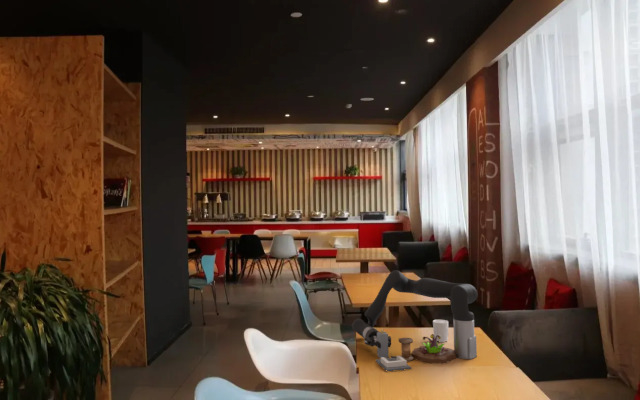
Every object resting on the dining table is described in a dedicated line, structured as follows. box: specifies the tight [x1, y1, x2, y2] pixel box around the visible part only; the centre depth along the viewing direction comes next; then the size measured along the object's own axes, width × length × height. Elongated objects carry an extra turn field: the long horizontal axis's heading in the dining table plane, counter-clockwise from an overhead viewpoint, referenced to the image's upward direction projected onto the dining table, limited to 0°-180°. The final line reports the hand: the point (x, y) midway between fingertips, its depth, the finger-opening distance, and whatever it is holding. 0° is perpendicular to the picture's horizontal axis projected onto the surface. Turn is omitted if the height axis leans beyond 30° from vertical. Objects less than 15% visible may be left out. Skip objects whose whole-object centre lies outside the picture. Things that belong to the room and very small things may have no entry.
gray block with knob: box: [376, 329, 390, 359], centre depth 223 cm, size 4×4×13 cm
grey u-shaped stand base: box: [375, 355, 412, 372], centre depth 210 cm, size 14×11×3 cm
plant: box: [411, 333, 457, 365], centre depth 222 cm, size 20×20×11 cm
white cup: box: [432, 319, 449, 343], centre depth 248 cm, size 8×8×10 cm
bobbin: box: [390, 337, 414, 362], centre depth 220 cm, size 10×6×9 cm, turn 43°
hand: (384, 345), depth 220 cm, fingers closed on gray block with knob, 4 cm apart
